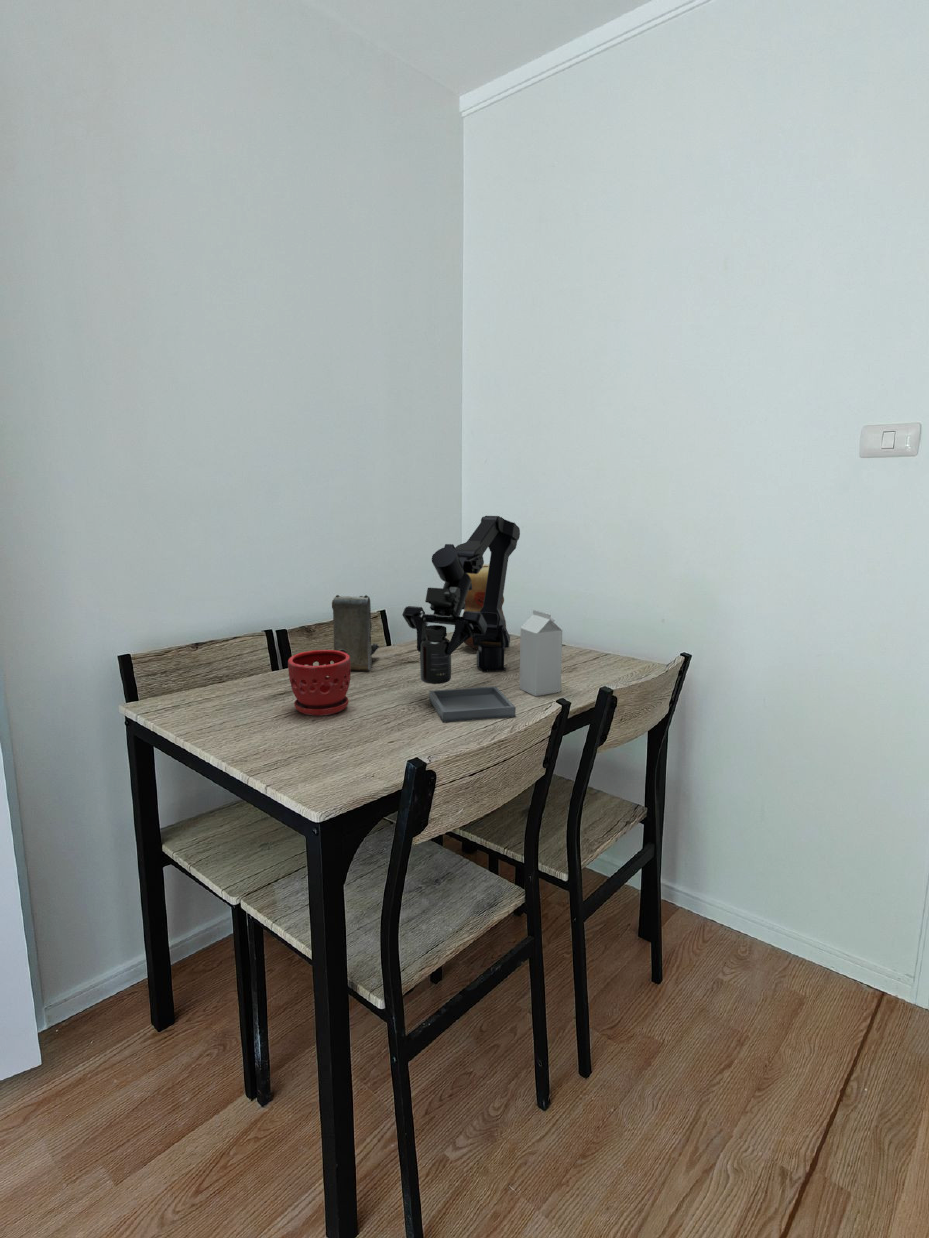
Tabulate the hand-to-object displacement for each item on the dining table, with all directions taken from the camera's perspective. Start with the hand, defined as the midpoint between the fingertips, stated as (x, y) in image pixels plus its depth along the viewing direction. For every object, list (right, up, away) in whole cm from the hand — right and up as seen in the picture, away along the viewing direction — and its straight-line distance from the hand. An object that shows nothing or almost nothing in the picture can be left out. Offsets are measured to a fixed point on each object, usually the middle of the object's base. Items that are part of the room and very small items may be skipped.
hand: (433, 652), depth 156 cm
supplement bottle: (0, -6, +3) cm, 7 cm away
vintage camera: (-22, -5, +38) cm, 44 cm away
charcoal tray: (+8, -12, +1) cm, 15 cm away
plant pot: (-24, -13, 0) cm, 27 cm away
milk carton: (+25, -10, +14) cm, 30 cm away
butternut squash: (+12, -2, +54) cm, 56 cm away
